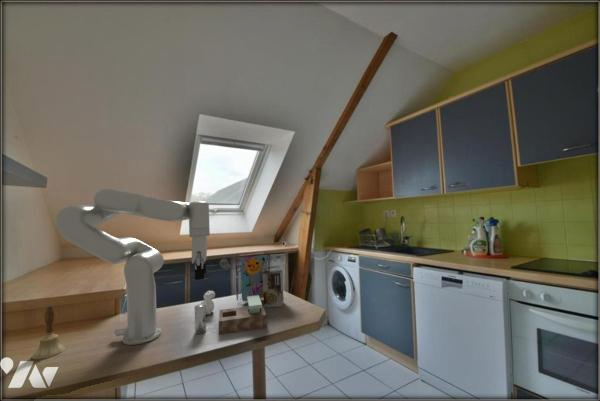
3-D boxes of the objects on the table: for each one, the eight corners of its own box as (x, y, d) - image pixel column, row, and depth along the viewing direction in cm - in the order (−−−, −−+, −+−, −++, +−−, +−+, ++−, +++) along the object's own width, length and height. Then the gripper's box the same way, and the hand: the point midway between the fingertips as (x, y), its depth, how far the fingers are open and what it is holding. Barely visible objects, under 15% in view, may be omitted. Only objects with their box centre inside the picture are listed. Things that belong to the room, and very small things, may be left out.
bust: (204, 323, 115) (220, 301, 117) (190, 314, 114) (206, 292, 116) (209, 313, 127) (224, 293, 128) (196, 304, 126) (211, 284, 128)
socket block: (219, 334, 100) (218, 321, 100) (219, 321, 111) (219, 309, 111) (266, 327, 104) (266, 314, 105) (262, 315, 116) (262, 304, 116)
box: (221, 310, 125) (220, 258, 125) (219, 306, 130) (218, 256, 131) (272, 300, 135) (270, 252, 136) (268, 297, 141) (266, 251, 142)
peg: (194, 335, 100) (193, 308, 100) (195, 330, 104) (195, 304, 104) (205, 333, 101) (205, 307, 101) (206, 328, 105) (205, 303, 105)
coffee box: (284, 302, 132) (283, 269, 133) (281, 307, 126) (280, 273, 126) (266, 302, 133) (265, 270, 134) (263, 307, 127) (262, 273, 127)
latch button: (249, 320, 103) (249, 306, 103) (247, 309, 114) (247, 296, 115) (262, 319, 104) (262, 304, 104) (259, 308, 116) (258, 295, 116)
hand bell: (69, 344, 96) (69, 300, 96) (58, 356, 88) (58, 307, 89) (39, 350, 93) (39, 304, 93) (26, 362, 85) (26, 312, 86)
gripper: (192, 231, 111) (193, 272, 111) (186, 235, 95) (187, 283, 94) (210, 230, 114) (211, 270, 113) (208, 233, 97) (209, 280, 96)
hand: (200, 276), depth 104 cm, fingers open, 9 cm apart
